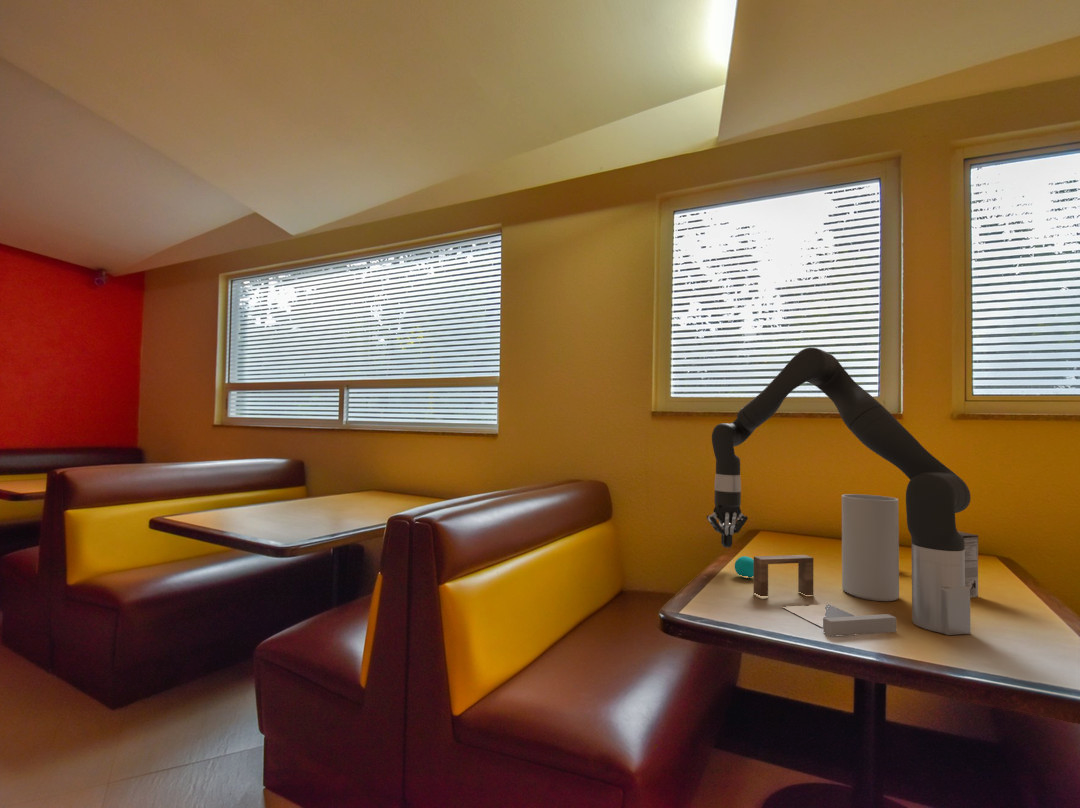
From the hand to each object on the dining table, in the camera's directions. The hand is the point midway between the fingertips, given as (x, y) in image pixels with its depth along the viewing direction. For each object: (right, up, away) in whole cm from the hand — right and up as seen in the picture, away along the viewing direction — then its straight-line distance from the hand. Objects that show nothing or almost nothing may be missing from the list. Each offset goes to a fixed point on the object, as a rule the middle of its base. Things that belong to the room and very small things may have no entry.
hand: (726, 546), depth 158 cm
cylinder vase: (+29, -6, -22) cm, 37 cm away
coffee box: (+53, -7, -19) cm, 57 cm away
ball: (+2, -3, -10) cm, 10 cm away
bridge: (+5, -6, -25) cm, 27 cm away
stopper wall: (+10, -5, -49) cm, 50 cm away
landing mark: (+8, -5, -39) cm, 40 cm away
